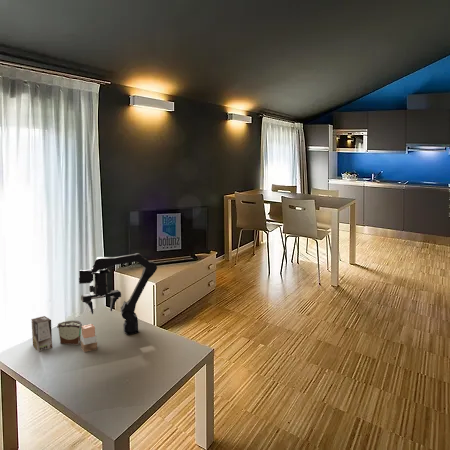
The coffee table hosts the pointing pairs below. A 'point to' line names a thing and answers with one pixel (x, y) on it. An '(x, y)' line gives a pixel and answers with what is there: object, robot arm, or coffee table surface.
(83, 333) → the clay block
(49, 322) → the coffee box
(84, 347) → the walnut block
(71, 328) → the food container
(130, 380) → the coffee table surface
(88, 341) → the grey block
